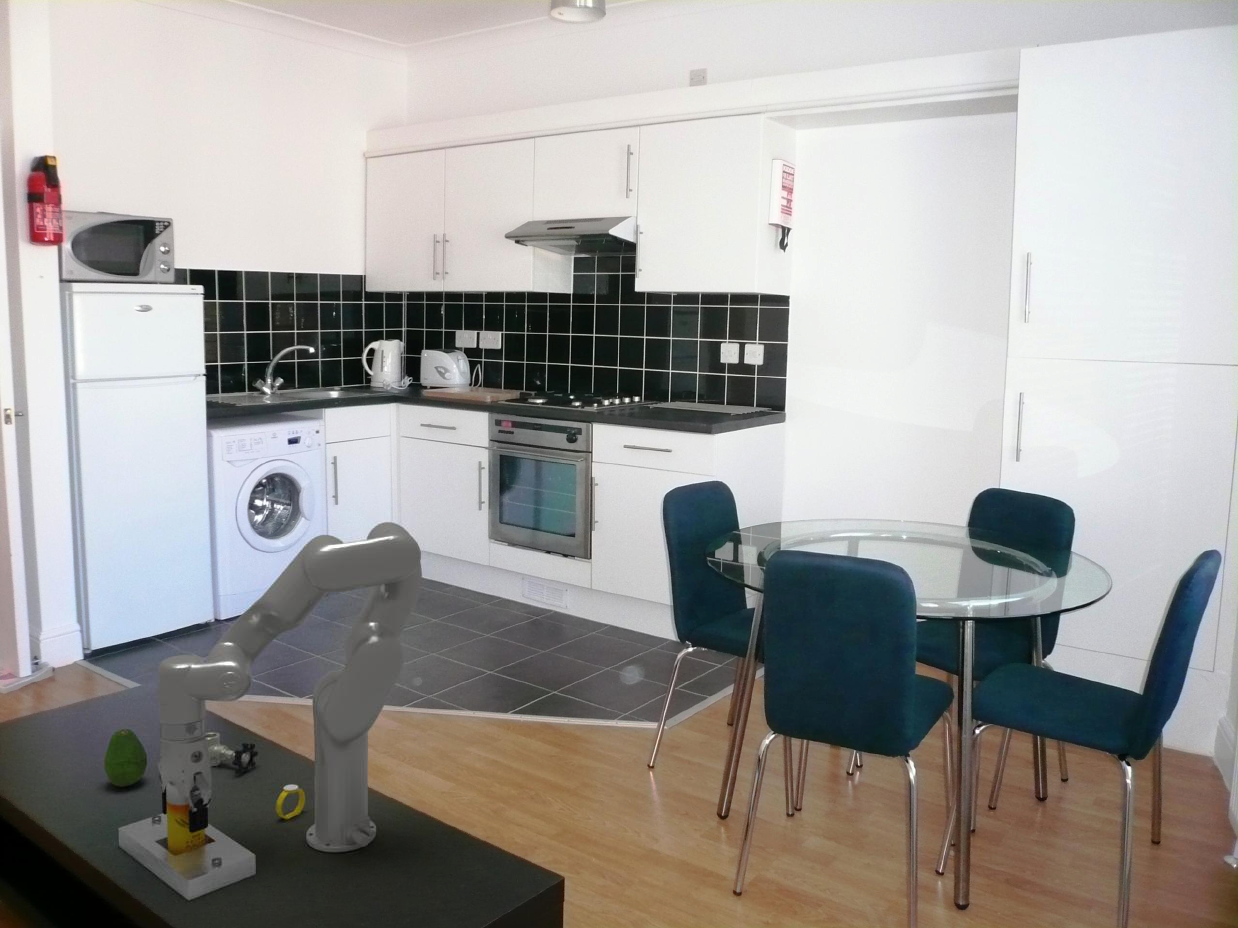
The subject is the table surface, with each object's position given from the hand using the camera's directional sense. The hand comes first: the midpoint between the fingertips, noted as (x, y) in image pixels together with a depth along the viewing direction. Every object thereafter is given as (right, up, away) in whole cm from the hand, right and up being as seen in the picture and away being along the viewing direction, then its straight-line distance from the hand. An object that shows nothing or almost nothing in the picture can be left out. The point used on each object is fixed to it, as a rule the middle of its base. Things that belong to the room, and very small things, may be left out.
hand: (185, 820), depth 186 cm
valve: (-8, -2, +40) cm, 40 cm away
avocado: (-24, -3, +30) cm, 38 cm away
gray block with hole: (0, -7, +1) cm, 7 cm away
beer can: (0, -7, +1) cm, 8 cm away
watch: (+13, -6, +19) cm, 23 cm away
